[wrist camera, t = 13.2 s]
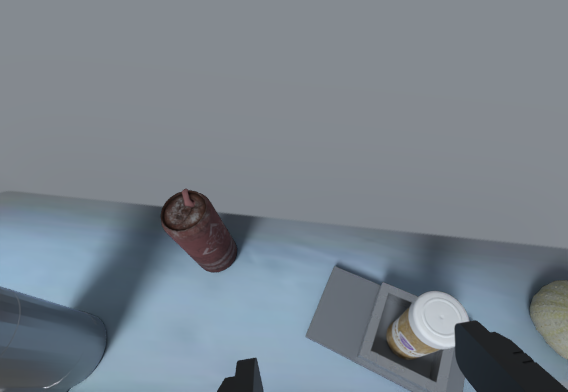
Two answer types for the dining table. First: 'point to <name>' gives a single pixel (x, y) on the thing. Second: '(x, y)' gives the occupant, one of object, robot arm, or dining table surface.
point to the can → (199, 230)
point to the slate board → (352, 324)
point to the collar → (431, 387)
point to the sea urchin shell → (552, 315)
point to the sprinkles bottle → (426, 325)
